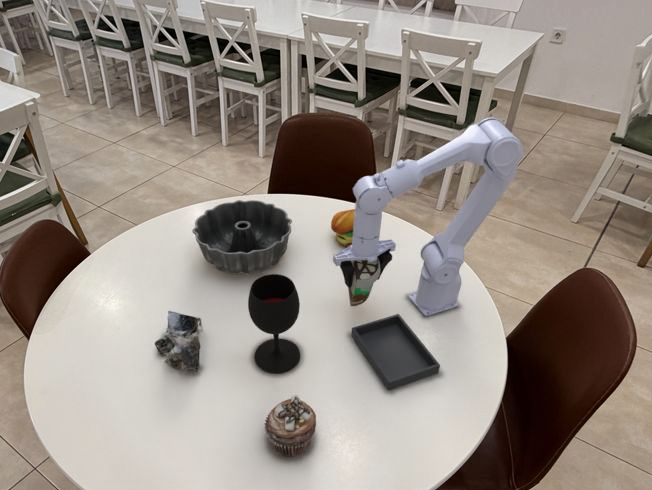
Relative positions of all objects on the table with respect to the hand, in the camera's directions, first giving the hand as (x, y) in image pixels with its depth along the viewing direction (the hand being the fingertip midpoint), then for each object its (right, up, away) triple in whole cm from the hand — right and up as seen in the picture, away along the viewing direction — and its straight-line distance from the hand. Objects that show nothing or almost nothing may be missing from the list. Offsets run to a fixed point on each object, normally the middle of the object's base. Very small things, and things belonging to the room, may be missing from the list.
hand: (361, 281), depth 116 cm
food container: (0, -2, +3) cm, 4 cm away
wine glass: (-20, -17, -5) cm, 26 cm away
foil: (-41, -16, -2) cm, 44 cm away
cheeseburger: (+1, +14, +27) cm, 31 cm away
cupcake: (-17, -32, -20) cm, 41 cm away
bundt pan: (-29, +9, +23) cm, 38 cm away
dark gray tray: (+6, -17, -5) cm, 18 cm away
